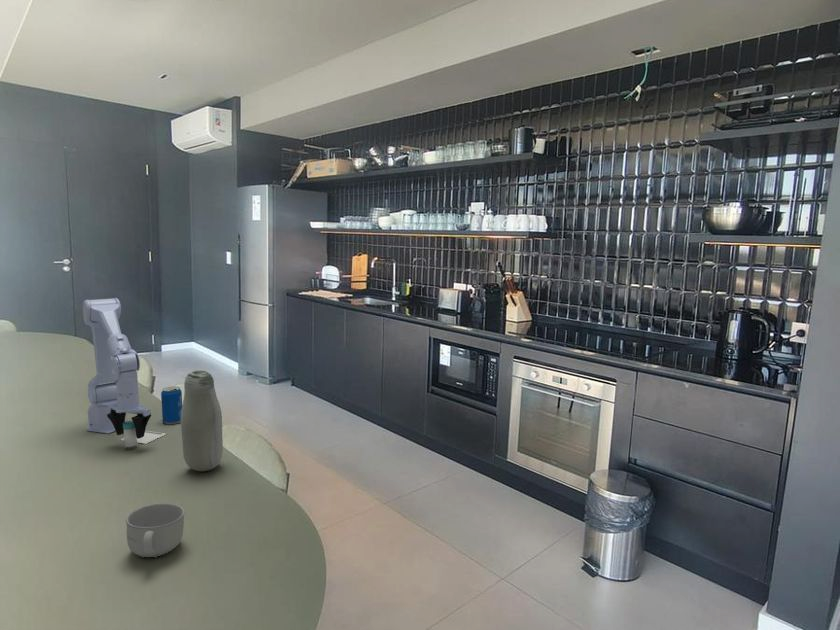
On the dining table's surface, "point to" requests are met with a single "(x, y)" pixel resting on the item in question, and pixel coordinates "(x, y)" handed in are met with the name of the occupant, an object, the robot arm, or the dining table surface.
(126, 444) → the white teal capped bottle
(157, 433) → the white flat panel
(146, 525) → the teacup
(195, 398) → the grey bottle
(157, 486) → the dining table surface
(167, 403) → the beverage can
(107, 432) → the robot arm
